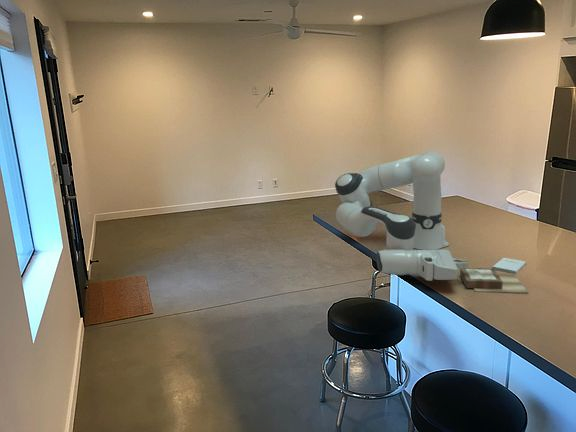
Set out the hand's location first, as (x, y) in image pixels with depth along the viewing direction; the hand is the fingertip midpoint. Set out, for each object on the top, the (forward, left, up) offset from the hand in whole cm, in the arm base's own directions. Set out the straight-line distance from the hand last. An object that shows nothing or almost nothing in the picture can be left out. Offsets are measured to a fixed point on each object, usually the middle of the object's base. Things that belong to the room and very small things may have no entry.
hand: (467, 264), depth 157 cm
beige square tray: (0, +9, -7) cm, 11 cm away
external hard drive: (-16, +18, -7) cm, 25 cm away
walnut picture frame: (0, -1, -5) cm, 5 cm away
